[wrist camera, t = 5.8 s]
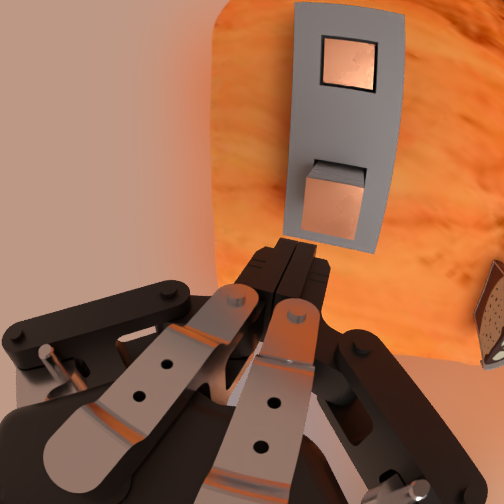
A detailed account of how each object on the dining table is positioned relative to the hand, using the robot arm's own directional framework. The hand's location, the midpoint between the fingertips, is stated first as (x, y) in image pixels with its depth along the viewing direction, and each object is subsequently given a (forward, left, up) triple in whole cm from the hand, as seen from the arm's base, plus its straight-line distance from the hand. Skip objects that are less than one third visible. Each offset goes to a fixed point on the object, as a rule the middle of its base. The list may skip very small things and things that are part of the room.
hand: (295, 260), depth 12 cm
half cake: (-18, +24, -22) cm, 37 cm away
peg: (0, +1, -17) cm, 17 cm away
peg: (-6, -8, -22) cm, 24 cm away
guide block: (-3, -4, -22) cm, 22 cm away
